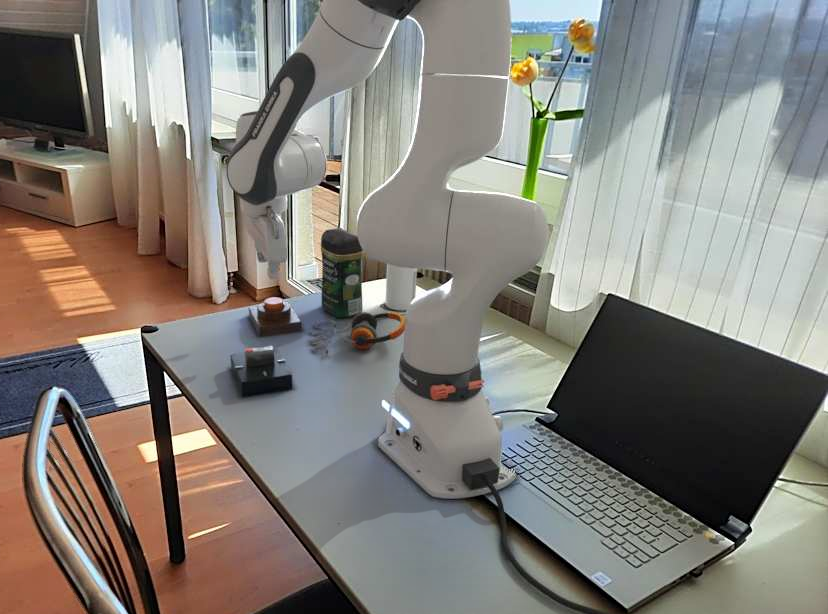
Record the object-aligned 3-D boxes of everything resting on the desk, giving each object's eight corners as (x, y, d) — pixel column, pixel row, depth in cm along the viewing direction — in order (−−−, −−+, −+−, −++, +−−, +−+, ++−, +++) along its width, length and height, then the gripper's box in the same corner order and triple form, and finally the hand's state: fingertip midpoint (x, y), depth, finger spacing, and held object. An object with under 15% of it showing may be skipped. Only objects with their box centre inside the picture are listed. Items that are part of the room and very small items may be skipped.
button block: (301, 331, 138) (301, 313, 136) (259, 336, 135) (258, 319, 133) (288, 311, 147) (287, 294, 145) (249, 316, 144) (247, 299, 143)
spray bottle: (420, 305, 151) (425, 229, 143) (401, 313, 147) (405, 236, 139) (398, 297, 156) (401, 223, 147) (379, 305, 151) (381, 229, 143)
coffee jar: (316, 307, 150) (314, 228, 141) (345, 300, 153) (346, 223, 145) (337, 322, 142) (337, 240, 134) (367, 314, 146) (369, 234, 138)
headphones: (310, 312, 140) (401, 294, 138) (316, 333, 142) (406, 316, 140) (302, 347, 125) (405, 328, 123) (309, 371, 128) (410, 352, 125)
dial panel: (293, 389, 116) (292, 373, 115) (241, 397, 113) (240, 381, 112) (278, 361, 125) (277, 347, 124) (230, 368, 123) (229, 353, 121)
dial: (272, 360, 120) (271, 344, 118) (274, 363, 118) (274, 347, 117) (245, 364, 118) (244, 348, 117) (247, 368, 117) (246, 351, 115)
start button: (285, 310, 138) (285, 303, 138) (266, 312, 137) (266, 305, 136) (280, 303, 142) (280, 296, 141) (262, 305, 141) (262, 298, 140)
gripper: (294, 214, 115) (296, 286, 121) (267, 186, 132) (271, 251, 138) (258, 217, 113) (263, 290, 119) (236, 188, 130) (241, 254, 136)
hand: (267, 269), depth 129 cm, fingers open, 8 cm apart
